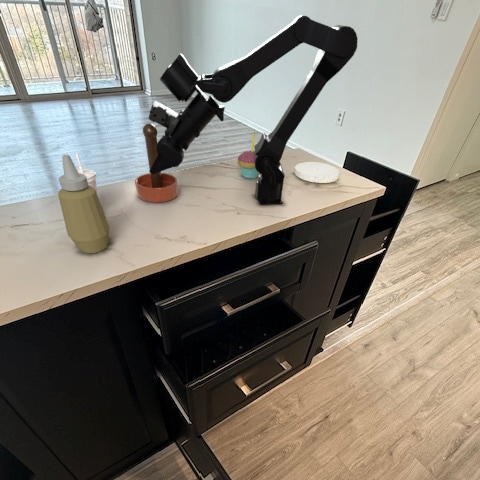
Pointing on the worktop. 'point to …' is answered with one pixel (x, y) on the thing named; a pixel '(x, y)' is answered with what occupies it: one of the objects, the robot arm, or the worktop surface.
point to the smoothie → (87, 174)
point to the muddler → (152, 152)
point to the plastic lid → (316, 172)
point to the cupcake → (248, 162)
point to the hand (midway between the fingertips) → (154, 166)
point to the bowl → (156, 194)
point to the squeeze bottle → (82, 210)
